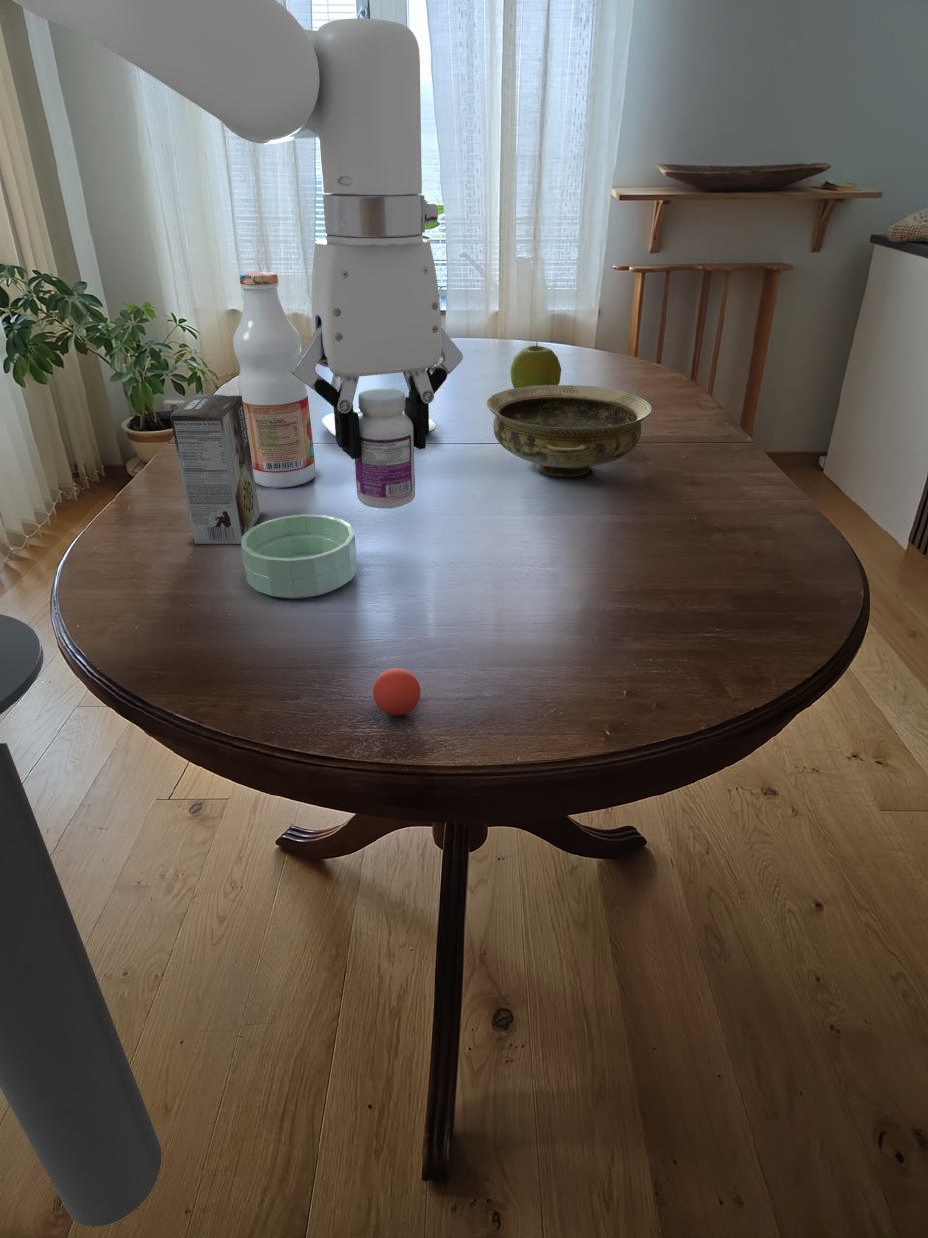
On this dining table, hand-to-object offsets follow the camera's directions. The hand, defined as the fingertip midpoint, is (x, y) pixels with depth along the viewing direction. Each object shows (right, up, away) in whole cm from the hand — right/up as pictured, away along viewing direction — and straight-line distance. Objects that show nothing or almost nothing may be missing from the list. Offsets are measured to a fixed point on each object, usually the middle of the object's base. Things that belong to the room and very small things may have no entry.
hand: (383, 447), depth 70 cm
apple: (+21, +28, +85) cm, 91 cm away
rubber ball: (+1, -21, -3) cm, 22 cm away
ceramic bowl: (+22, +8, +50) cm, 56 cm away
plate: (-8, +17, +67) cm, 70 cm away
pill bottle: (0, -4, +3) cm, 5 cm away
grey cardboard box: (-23, -4, +31) cm, 39 cm away
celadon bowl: (-11, -10, +20) cm, 25 cm away
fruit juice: (-20, +6, +47) cm, 52 cm away
